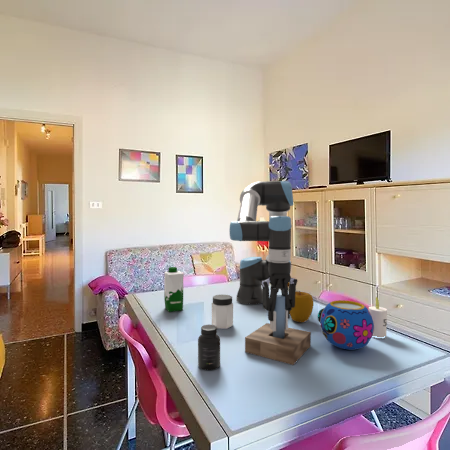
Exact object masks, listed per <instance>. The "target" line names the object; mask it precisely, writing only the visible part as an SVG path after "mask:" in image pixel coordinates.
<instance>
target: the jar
mask: <svg viewBox="0 0 450 450" xmlns="http://www.w3.org/2000/svg"><path fill="white" fill-rule="evenodd" d="M211 325H215V326H216V327H217V329H220V330H221V329H222V330H223V329H225V330H227V329H229V328H230V327H233V326H234V303H233V296H232V295H231V294H216V295H213V296H212V302H211Z"/></svg>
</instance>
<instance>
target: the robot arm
mask: <svg viewBox="0 0 450 450" xmlns="http://www.w3.org/2000/svg"><path fill="white" fill-rule="evenodd" d="M239 202H240V203H239V204H240V205H239V211H238V215H237V220H232V221H230V223H229V238H230V240H231V241H237V242H268V254H267V255H266V257H265V259H263V257H262V256H250V257H245V258H242V259H241V260H240V263H239V286H238V287H239V288H238V290H237V294H236V299H235V300H236V302H237V303H239V304H243V305H260V304H262V308H263V310H265V311H267V314H268V315H267V316H268V317H267V318H268V321H269V324H270V329H271V330H273V331H276V312H275V311H274V309H275V303H276V298H277V295H278V293H279V291H280V293H281V295H283V296H285V329H286V330H287V329H288V327H289V322H288V321H289V320H290V318H291V316H290V311H291V310H292V307H293V308H294V307H295V294H296V292H297V290H296V289H297V288H296V287H297V284H298V281H299V280H298V279H297V278H294V277H292V276H291V272H292V271H291V269H292V261H291V260H292V259H291V257H292V247H291V246H292V245H291V244H292V226H293V225H292V218H291V217H290V216H288V212H289V211H290V210H291V207H292V206H294V196H293V188H292V183H291V181H285V180H284V181H283V180H273V181H272V180H269V181H268V180H267V181H262V180H260V181H255V182H252V183H250V184H249V185H247V186H246V187H245V188H244V189H243V190H242V192H241V193H240V196H239ZM258 206H263V207H264V206H265V210H266V211H267V212H268V217H269V218H268V221H267V220H266V221H264V220H261V221H260V220H258V221H257V215H258V214H257V213H258ZM269 286H270V287H269Z"/></svg>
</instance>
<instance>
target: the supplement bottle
mask: <svg viewBox="0 0 450 450" xmlns="http://www.w3.org/2000/svg"><path fill="white" fill-rule="evenodd" d="M200 329H201V330H200V335H199V337H198V338H197V364H198V365H197V366H198V367H199V369H201V370H204V371H214V370H217V369H218V368H219V367H220V365H221V338H220V336H219V335H218V328H217V327H216V326H215V325H212V324H204V325H202V326H201V328H200Z"/></svg>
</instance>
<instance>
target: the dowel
mask: <svg viewBox="0 0 450 450" xmlns="http://www.w3.org/2000/svg"><path fill="white" fill-rule="evenodd" d="M274 311H275V312H276V331H273V337H276V338H281V339H284V338H285V296H283V295H282V294H277V298H276V303H275V309H274Z"/></svg>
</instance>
